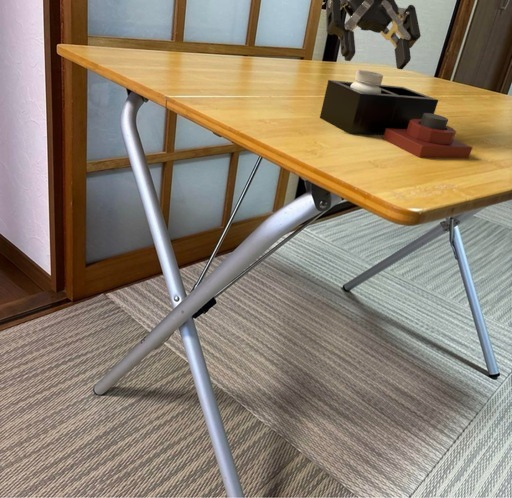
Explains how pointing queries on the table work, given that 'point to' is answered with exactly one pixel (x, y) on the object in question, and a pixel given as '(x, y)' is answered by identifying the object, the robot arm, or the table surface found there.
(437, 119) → the button
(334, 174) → the table surface
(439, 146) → the panel
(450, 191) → the table surface
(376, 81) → the pill bottle
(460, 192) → the table surface
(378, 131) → the black divided box
